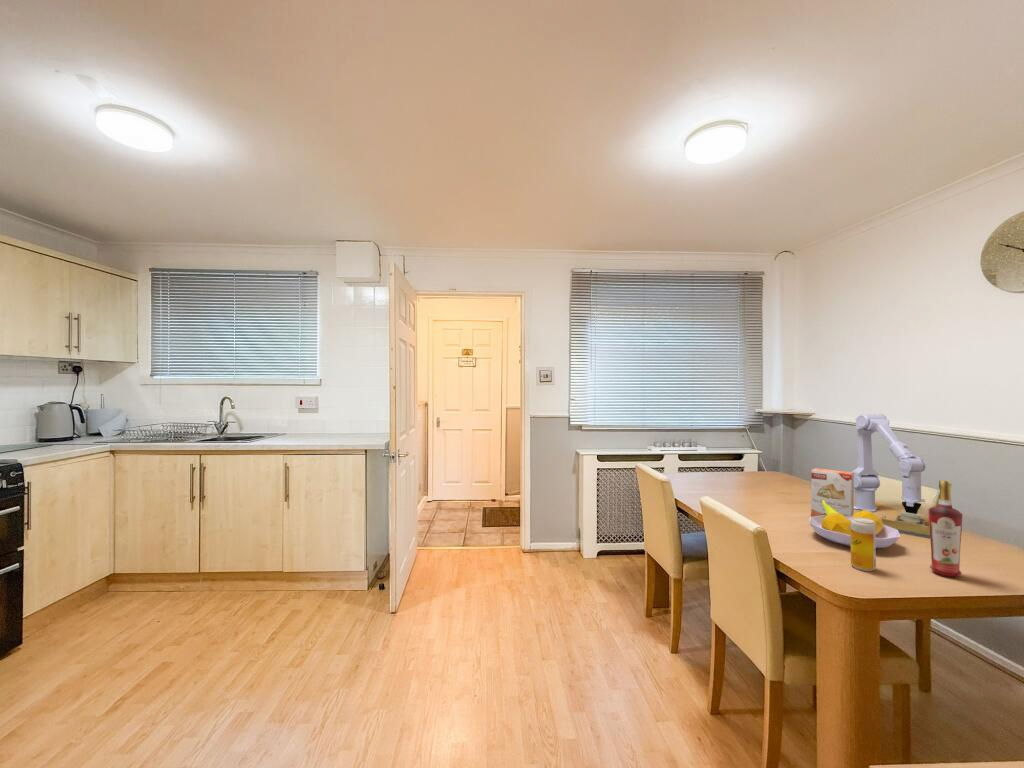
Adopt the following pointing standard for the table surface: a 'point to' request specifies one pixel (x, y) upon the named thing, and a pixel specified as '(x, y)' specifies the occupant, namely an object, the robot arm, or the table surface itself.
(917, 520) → the square caster platform
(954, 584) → the table surface
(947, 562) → the liquor
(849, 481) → the cracker box
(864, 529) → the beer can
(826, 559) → the table surface
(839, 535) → the fruit bowl
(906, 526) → the plate
